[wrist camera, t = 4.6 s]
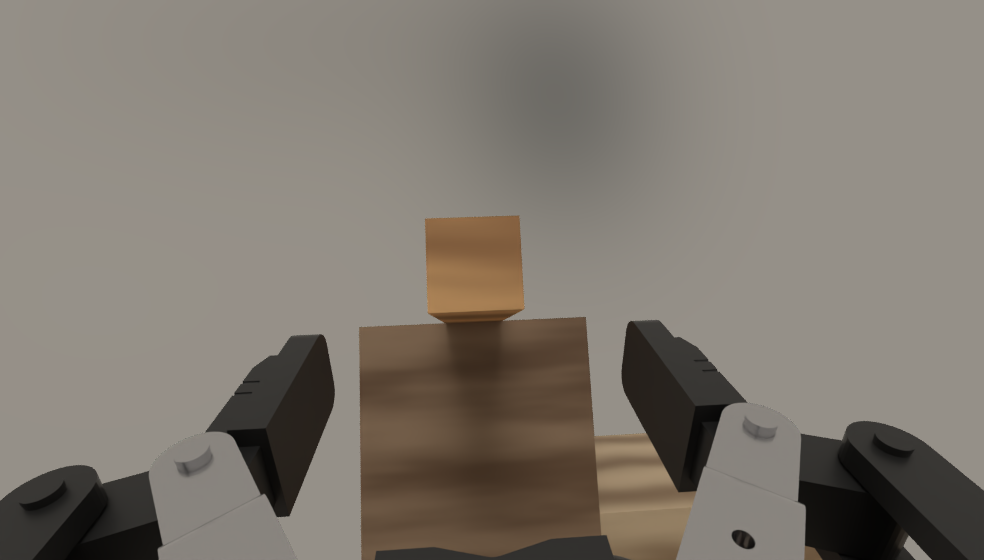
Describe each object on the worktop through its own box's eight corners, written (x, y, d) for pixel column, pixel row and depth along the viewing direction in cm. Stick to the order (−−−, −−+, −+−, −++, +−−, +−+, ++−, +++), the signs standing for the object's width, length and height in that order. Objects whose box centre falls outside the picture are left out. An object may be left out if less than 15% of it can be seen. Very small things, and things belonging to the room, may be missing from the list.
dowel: (524, 309, 14) (519, 215, 14) (427, 313, 14) (425, 218, 14) (489, 327, 40) (487, 293, 40) (455, 329, 40) (454, 295, 40)
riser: (891, 997, 21) (800, 307, 25) (366, 1065, 20) (359, 327, 24) (703, 703, 38) (667, 319, 42) (414, 729, 36) (405, 331, 40)
